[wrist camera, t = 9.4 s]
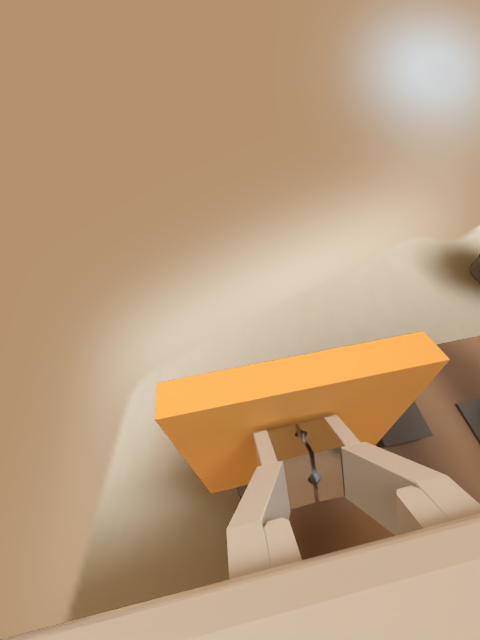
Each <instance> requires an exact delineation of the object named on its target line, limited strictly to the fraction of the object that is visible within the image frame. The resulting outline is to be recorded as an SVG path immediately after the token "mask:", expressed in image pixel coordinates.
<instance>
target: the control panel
mask: <svg viewBox="0 0 480 640" xmlns="http://www.w3.org/2000/svg"><path fill="white" fill-rule="evenodd" d="M437 346H438V347H439V348H440V349H441V350H442V351H443V352H444V354H445V355H446V356H447V357H448V358H449V359H450V360H449V361H448V363H447V364H446V365H445V366H444V367H443V368H442V369H441V371H440V372H439V373H438V374H437V375H436V376H435V377H434V379H433V380H432V381H431V382H430V383H429V384H428V386H427V387H426V388H425V389H424V390H423V391H422V392H421V394H420V395H419V396H418V397H417V398H416V399H415V400H414V402H413V403H412V404H411V405H410V406H409V407H408V408H407V410H406V411H405V412H404V413H403V414H402V415H401V417H400V418H399V419H398V420H397V421H396V422H395V423H394V425H393V426H392V427H391V428H390V429H389V430H388V431H387V433H386V434H385V435H384V436H383V437H382V438H381V439H380V441H379V442H378V443H377V444H376V445H375V446H377V447H379V448H382V449H384V450H387V451H389V452H392V453H394V454H396V455H399V456H401V457H404V458H406V459H409V460H411V461H413V462H416V463H418V464H421V465H423V466H426V467H428V468H430V469H433V470H435V471H438V472H440V473H443V474H445V475H447V476H449V477H450V478H451V479H452V480H453V481H454V482H455V483H456V484H458V485H459V486H460V487H461V488H462V489H463V490H464V491H466V492H467V493H468V494H469V495H470V496H471V497H472V498H473V499H475V500H476V501H477V502H478V503H479V504H480V336H477V337H472V338H467V339H462V340H457V341H452V342H447V343H442V344H437ZM242 496H243V495H241V496H240V498H242ZM314 497H315V503H312V504H308V505H305V506H301V507H298V508H294V509H291V510H290V511H291V512H290V516H289V521H290V524H291V527H292V531H293V534H294V537H295V540H296V543H297V546H298V549H299V552H300V555H301V558H302V560H305V559H308V558H312V557H316V556H320V555H324V554H327V553H331V552H335V551H339V550H343V549H346V548H350V547H354V546H358V545H362V544H365V543H369V542H373V541H377V540H381V539H384V538H388V537H392V536H395V535H394V534H393V533H391V532H390V531H389V530H387V529H386V528H385V527H384V526H382V525H381V524H380V523H378V522H377V521H376V520H374V519H373V518H372V517H370V516H369V515H368V514H366V513H365V512H364V511H362V510H361V509H360V508H358V507H357V506H356V505H355V504H353V503H352V502H351V501H349V500H348V499H347V498H345V496H343V497H339V498H334V499H329V500H325V501H320V502H319V499H318V497H317V495H316V493H315V491H314Z"/></svg>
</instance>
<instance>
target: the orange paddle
mask: <svg viewBox="0 0 480 640" xmlns="http://www.w3.org/2000/svg"><path fill="white" fill-rule="evenodd" d="M449 360H450V359H449V358H448V357H447V356H446V355H445V354H444V352H443V351H442V350H441V349H440V348H439V347H438V346H437V345H436V344H435V343H434V342H433V341H432V339H431V338H430V337H429V336H428V335H427V334H426V333H425V332H424V331H421V332H416V333H411V334H406V335H401V336H396V337H391V338H386V339H380V340H375V341H370V342H365V343H360V344H355V345H350V346H345V347H339V348H334V349H329V350H324V351H319V352H314V353H309V354H303V355H298V356H293V357H288V358H283V359H278V360H273V361H268V362H262V363H257V364H252V365H247V366H242V367H237V368H232V369H227V370H221V371H216V372H211V373H206V374H201V375H196V376H191V377H186V378H180V379H175V380H170V381H165V382H160V383H157V393H156V410H155V421H156V422H157V423H158V425H159V426H160V427H161V428H162V430H163V431H164V432H165V434H166V435H167V436H168V438H169V439H170V440H171V442H172V443H173V444H174V445H175V447H176V448H177V449H178V451H179V452H180V453H181V455H182V456H183V457H184V459H185V460H186V461H187V463H188V464H189V465H190V466H191V468H192V469H193V470H194V472H195V473H196V474H197V476H198V477H199V478H200V480H201V481H202V482H203V483H204V485H205V486H206V487H207V489H208V490H209V491H210V493H211V494H212V493H216V492H221V491H225V490H229V489H234V488H237V489H238V494H239V496H241V495H243V494H244V492H245V490H246V488H247V486H248V484H249V482H250V480H251V478H252V476H253V474H254V472H255V470H256V468H257V467H258V462H257V456H256V450H255V444H254V439H253V432H257V431H262V430H267V429H271V428H277V427H282V426H287V425H292V424H293V425H294V426H295V428H296V424H298V423H302V422H307V421H311V420H315V419H320V418H322V417H326V416H330V415H334V414H336V415H338V416H339V418H340V419H341V420H342V421H343V422H344V423H345V425H346V426H347V427H348V428H349V429H350V430H351V431H352V433H353V434H354V435H355V436H356V437H357V438H358V439H359V441H360V442H367V443H370V444H372V445H376V444H377V443H378V442H379V441H380V439H381V438H382V437H383V436H384V435H385V434H386V433H387V431H388V430H389V429H390V428H391V427H392V426H393V425H394V423H395V422H396V421H397V420H398V419H399V418H400V417H401V415H402V414H403V413H404V412H405V411H406V410H407V408H408V407H409V406H410V405H411V404H412V403H413V402H414V400H415V399H416V398H417V397H418V396H419V395H420V394H421V392H422V391H423V390H424V389H425V388H426V387H427V386H428V384H429V383H430V382H431V381H432V380H433V379H434V377H435V376H436V375H437V374H438V373H439V372H440V371H441V369H442V368H443V367H444V366H445V365H446V364H447V363H448V361H449Z"/></svg>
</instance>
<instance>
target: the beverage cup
mask: <svg viewBox="0 0 480 640" xmlns="http://www.w3.org/2000/svg"><path fill="white" fill-rule="evenodd" d="M470 270H471V273H472V275H473V276H474V278H475V279H476V280H477V281H479V282H480V255H479V257H478V258H477V259H476V261H475V262H474V263H473V264H472V265H471V269H470Z"/></svg>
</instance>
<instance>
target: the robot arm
mask: <svg viewBox="0 0 480 640" xmlns="http://www.w3.org/2000/svg"><path fill="white" fill-rule="evenodd" d="M253 439H254V444H255V450H256V456H257V462H258V467H257V468H256V470H255V472H254V474H253V476H252V478H251V480H250V482H249V484H248V486H247V488H246V490H245V492H244V494H243V496H242V498H241V500H240V503H239V505H238V507H237V509H236V511H235V513H234V515H233V517H232V519H231V521H230V523H229V525H228V527H227V529H226V533H227V551H228V568H229V580H225V581H221V582H217V583H213V584H210V585H206V586H202V587H198V588H194V589H191V590H187V591H183V592H179V593H175V594H172V595H168V596H164V597H160V598H156V599H153V600H149V601H145V602H141V603H137V604H134V605H130V606H126V607H122V608H118V609H115V610H111V611H107V612H103V613H99V614H95V615H92V616H88V617H84V618H80V619H76V620H73V621H69V622H65V623H61V624H57V625H54V626H50V627H46V628H42V629H38V630H35V631H31V632H27V633H23V634H20V635H16V636H12V637H8V638H5V639H0V640H480V504H479V503H478V502H477V501H476V500H475V499H473V498H472V497H471V496H470V495H469V494H468V493H467V492H466V491H464V490H463V489H462V488H461V487H460V486H459V485H458V484H456V483H455V482H454V481H453V480H452V479H451V478H450V477H449V476H447V475H445V474H443V473H440V472H438V471H435V470H433V469H430V468H428V467H426V466H423V465H421V464H418V463H416V462H413V461H411V460H409V459H406V458H404V457H401V456H399V455H396V454H394V453H392V452H389V451H387V450H384V449H382V448H379V447H377V446H375V445H372V444H370V443H367V442H360V441H359V439H358V438H357V437H356V436H355V435H354V434H353V433H352V431H351V430H350V429H349V428H348V427H347V426H346V425H345V423H344V422H343V421H342V420H341V419H340V418H339V416H338V415H336V414H334V415H330V416H326V417H322V418H320V419H315V420H311V421H307V422H302V423H298V424H296V428H295V426H294V425H293V424H292V425H287V426H282V427H277V428H271V429H267V430H262V431H257V432H253ZM314 491H315V493H316V495H317V497H318V499H319V502H320V501H325V500H329V499H334V498H339V497H343V496H345V498H347V499H348V500H349V501H351V502H352V503H353V504H355V505H356V506H357V507H358V508H360V509H361V510H362V511H364V512H365V513H366V514H368V515H369V516H370V517H372V518H373V519H374V520H376V521H377V522H378V523H380V524H381V525H382V526H384V527H385V528H386V529H387V530H389V531H390V532H391V533H393V534H394V535H395V536H392V537H388V538H384V539H381V540H377V541H373V542H369V543H365V544H362V545H358V546H354V547H350V548H346V549H343V550H339V551H335V552H331V553H327V554H324V555H320V556H316V557H312V558H308V559H305V560H302V558H301V555H300V552H299V549H298V546H297V543H296V540H295V537H294V534H293V531H292V527H291V524H290V521H289V516H290V512H291V511H290V510H291V509H294V508H298V507H301V506H305V505H308V504H312V503H315V497H314Z"/></svg>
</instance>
